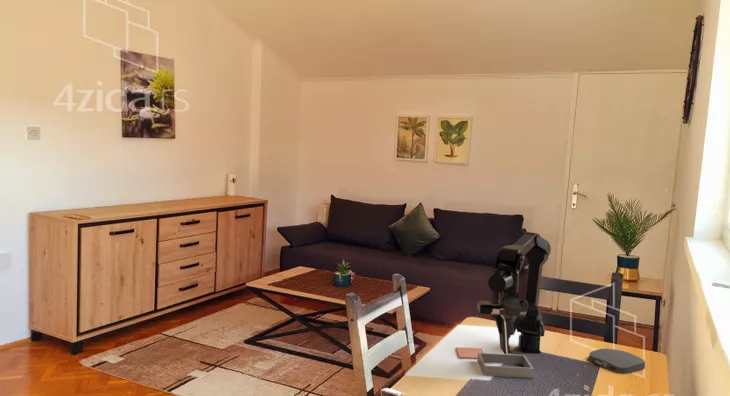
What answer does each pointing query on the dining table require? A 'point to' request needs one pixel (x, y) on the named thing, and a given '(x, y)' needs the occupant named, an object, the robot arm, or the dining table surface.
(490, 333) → the dining table surface
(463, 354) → the mat
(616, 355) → the media streaming box
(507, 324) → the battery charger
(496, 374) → the bin
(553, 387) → the dining table surface
